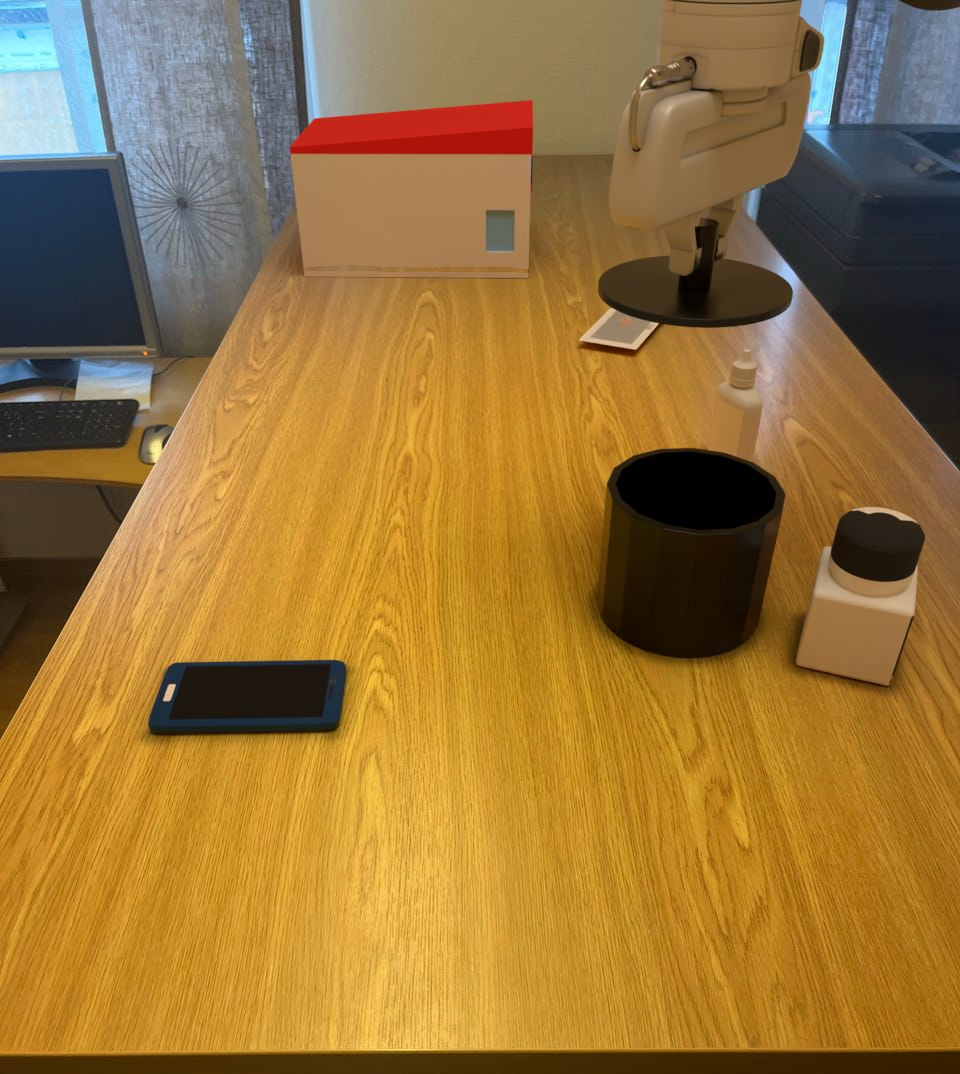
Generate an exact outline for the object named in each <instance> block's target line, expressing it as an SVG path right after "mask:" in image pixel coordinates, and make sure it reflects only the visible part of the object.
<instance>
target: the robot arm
mask: <svg viewBox="0 0 960 1074" xmlns="http://www.w3.org/2000/svg"><path fill="white" fill-rule="evenodd" d="M898 1H899V2H901V3H903V4H905V5H908V6H910V7H911V8H915V9H918V10H924V11H931V12H933V11H935V12H937V11H939V12H940V11H949V10H954V9H957V8H960V0H898ZM802 3H803V0H660V8H659V14H658V15H659V16H658V17H659V19H658V28H657V39H656V49H655V51H656V52H655V63H654V65H653V66H651V67H649V68H647V69H646V70H645V71H644V74H643V77H642V80H640V82H639V84H638V86H636V87H637V88H636V90H634V91H633V92H632V93H631V96H630V100H629V102H628V103H627V104H626V107H625V108H624V110H623V113H622V116H621V119H620V123H619V127H618V130H617V137H616V138H617V139H616V143H615V149H614V154H613V161H612V167H611V176H610V182H609V183H610V184H609V192H608V211H609V214H610V216H611V218H612V221H613V222H614V223H615V224H616V225H619V226H622V227H626V228H630V229H635V230H640V231H645V232H656V231H658V230H661V229H664V232H665V236H666V240H667V243H668V245H669V248H670V250H669V256H670V258H669V270H670V271H671V272H672V273H674V274H679V275H683V276H686V275H688V274H691V273H693V272H695V271H697V270H698V269H699V267H700V258H701V254H702V247H700V246H697V244H696V235H695V227H697V226H699V223H700V218H701V214H702V212H704V211H707V210H709V212H708V215H707V218H709V219H713V220H716V221H718V222H719V228H718V235H717V243H716V250H715V257H714V262H715V261H717V260H719V259H721V258H725V257H726V255H727V250H728V243H729V238H730V237H729V236H730V235H731V232H732V230H733V228H734V226H735V223H736V221H737V219H738V217H739V214H740V212H741V210H742V207H743V201H744V194H747V193H749V192H752V191H755V190H756V189H759V188H761V187H764V186H766V185H768V184H771V183H773V182H775V181H778V180H780V179H783V178H785V177H787V175H788V174H789V172H790V170H791V169H792V166H793V164H794V162H795V160H796V158H797V155H798V152H799V149H800V144H801V140H802V136H803V132H804V127H805V122H806V117H807V113H808V107H809V103H810V98H811V97H810V96H811V89H812V79H811V75H810V73H811V72H813V71H815V70H817V69H818V68H819V66H820V64H821V61H822V56H823V53H824V46H825V37H824V35H823V33H822V32H821V31H819V30H818V29H816V28H815V27H814V26H813V25H811V24H810V23H808V22H807V21H806V20H805V18H804V17H803V16H801V9H802Z"/></svg>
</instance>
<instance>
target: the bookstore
mask: <svg viewBox="0 0 960 1074" xmlns="http://www.w3.org/2000/svg"><path fill="white" fill-rule="evenodd" d="M533 144H534V102H533V99H529V100H528V99H527V100H517V101H515V100H514V101H503V102H492V103H491V102H490V103H480V104H469V105H467V104H466V105H458V106H457V105H456V106H444V107H434V108H433V107H431V108H422V109H421V108H419V109H410V110H398V111H396V110H395V111H386V112H385V111H384V112H374V113H373V112H372V113H362V114H361V113H360V114H350V115H340V116H339V115H337V116H328V117H327V116H325V117H315V118H313V119H312V120H311V122H310V123H309V124H307V126H306V127H305V129H304V130H303V131H302V132H301V133H300V134H299V135H298V137H297V138H295V140H294V141H293V142H292V144H291V145H290V146H289V156H290V163H291V164H290V165H291V172H292V181H293V189H294V190H293V191H294V197H295V198H294V199H295V205H296V206H295V207H296V215H297V224H298V231H299V240H300V242H299V243H300V251H301V257H302V258H301V259H302V266H303V267H302V268H304V267H317V266H342V265H344V266H346V265H356V266H376V267H378V266H380V267H403V268H404V267H409V268H414V267H415V268H419V267H422V268H424V267H513V268H523V269H529V267H530V233H531V232H530V230H531V228H530V227H531V193H533V163H534V162H533V161H534V160H533V153H534V151H533V150H534V149H533V146H534V145H533ZM303 275H304V277H305V278H306V277H307V278H309V277H310V278H439V279H440V278H443V279H444V278H449V279H455V278H458V279H476V278H477V279H487V278H488V279H529V273H518V272H379V271H304V270H303Z"/></svg>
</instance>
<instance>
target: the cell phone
mask: <svg viewBox="0 0 960 1074" xmlns="http://www.w3.org/2000/svg"><path fill="white" fill-rule="evenodd" d="M346 680H347V666H346V663H345V662H344V661H342V660H339V659H302V660H301V659H298V660H296V659H295V660H293V659H292V660H290V659H289V660H243V661H242V660H239V661H237V660H236V661H235V660H233V661H182V662H181V661H180V662H179V661H178V662H174V663H173V662H172V663H171V664H170V665H168V667H167V669H166V671H165V672H164V674H163V678H162V681H161V683H160V685H159V688H158V691H157V694H156V696H155V700H154V701H153V706H152V708H151V710H150V713H149V716H148V723H147V725H148V728H149V730H150V732H151V733H154V734H187V733H188V734H192V733H193V734H196V733H197V734H198V733H200V734H201V733H202V734H203V733H205V734H206V733H255V732H256V733H258V732H259V733H260V732H263V733H264V732H311V731H312V732H313V731H316V732H319V731H330V730H332V729H335V728H337V727H338V725H339V722H340V721H341V716H342V708H343V702H344V693H345V687H346Z"/></svg>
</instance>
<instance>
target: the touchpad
mask: <svg viewBox="0 0 960 1074" xmlns="http://www.w3.org/2000/svg"><path fill="white" fill-rule="evenodd" d="M659 324H660V323H654V322H650V321H645V320H641V319H638V318H635V317H631V316H629V315H626V314H623V313H621V312H619V311H617V310H615V309H613V308H611V307H610V308H609V309H608V310H606V312H605V313H604V314H603V315H602V316H601V317H600V318H599V319H598V320H597V321H596V322H595V323H594V324H593V325H592V326H591V327H590V328H589V329H588V330H587V331H586V332H584V334H583V335H582V336H581V337H579V339H578V342H579V341H581V342H587V343H592V344H599V345H604V346H610V347H616V348H622V349H629V350H633V351H635V350H637V349H638V348H640V346H641V345H642V344H643V343H644V342H645V340H646V339H647V338H648V337H649V336H650V335H651V334H652V333H653V331H654V330H655V329H656V328H657V326H658V325H659Z"/></svg>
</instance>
